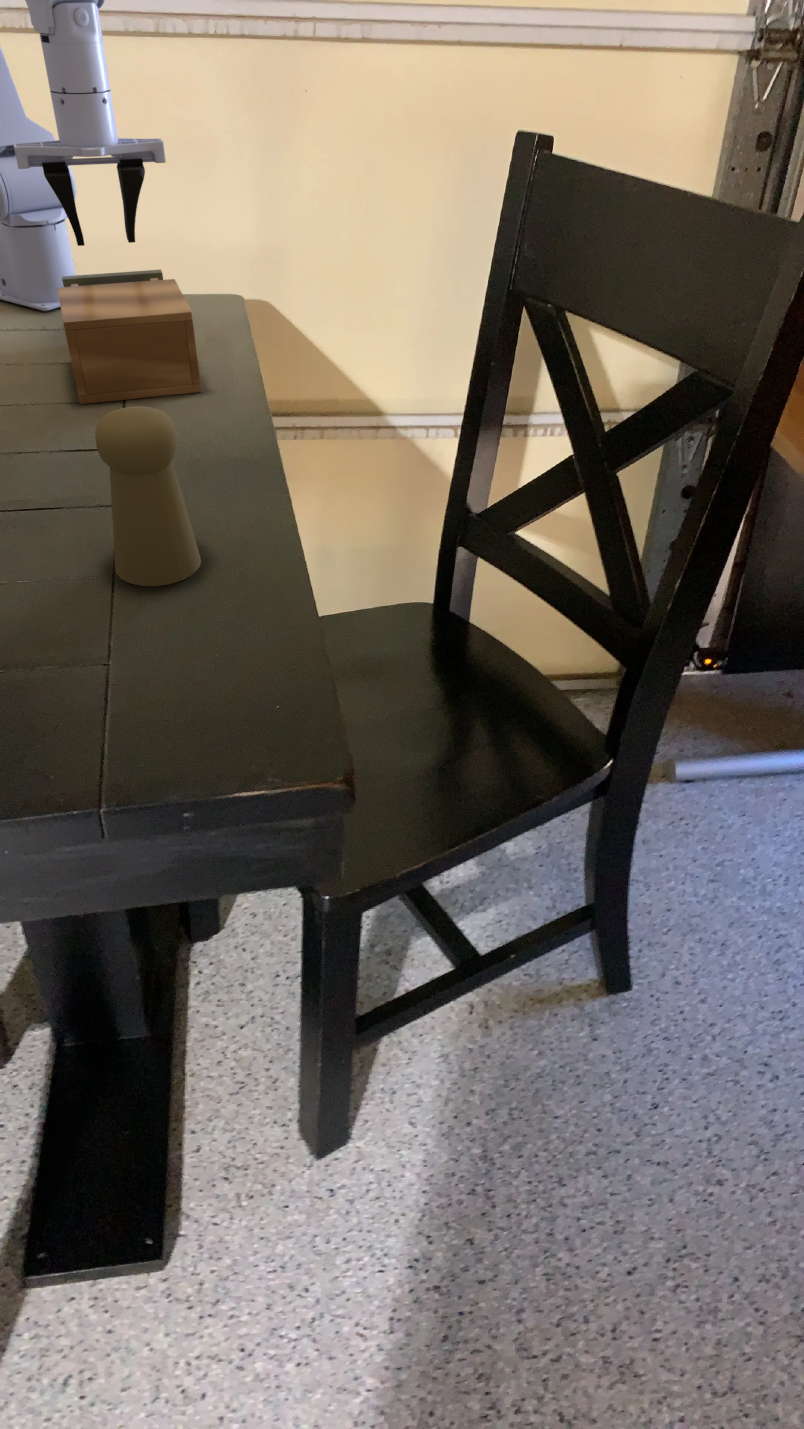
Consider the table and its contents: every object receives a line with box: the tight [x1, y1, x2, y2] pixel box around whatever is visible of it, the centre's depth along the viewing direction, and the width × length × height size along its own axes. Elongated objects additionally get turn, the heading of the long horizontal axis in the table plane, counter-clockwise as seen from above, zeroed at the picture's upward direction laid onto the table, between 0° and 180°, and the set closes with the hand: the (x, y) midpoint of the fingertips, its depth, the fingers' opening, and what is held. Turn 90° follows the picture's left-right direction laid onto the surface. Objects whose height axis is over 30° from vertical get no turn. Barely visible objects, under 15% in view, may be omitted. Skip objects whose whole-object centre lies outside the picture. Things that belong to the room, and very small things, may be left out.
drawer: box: [62, 269, 164, 287], centre depth 102 cm, size 15×10×6 cm
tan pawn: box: [94, 405, 202, 587], centre depth 64 cm, size 6×6×11 cm
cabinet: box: [57, 278, 202, 405], centre depth 94 cm, size 12×12×8 cm
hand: (106, 241), depth 102 cm, fingers open, 5 cm apart
